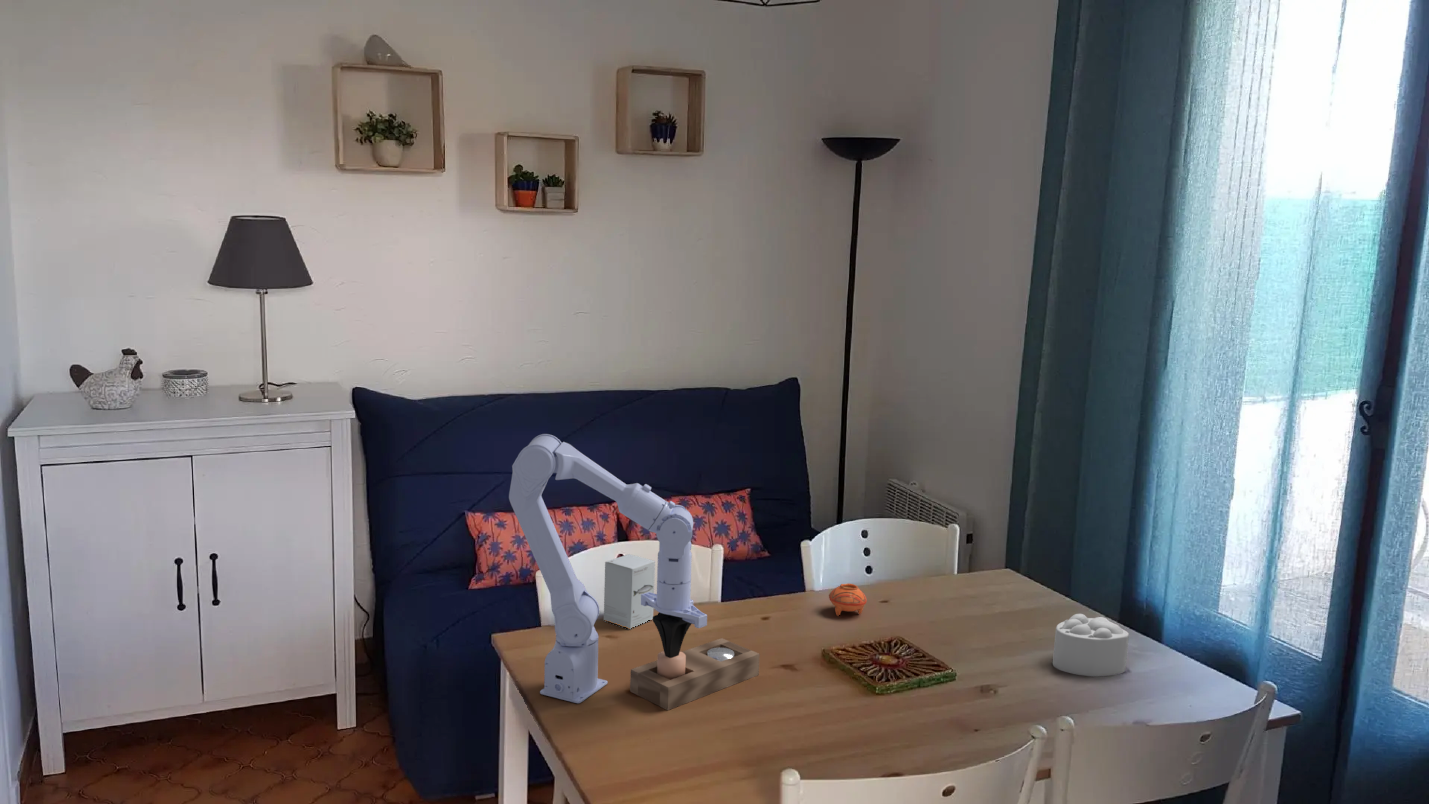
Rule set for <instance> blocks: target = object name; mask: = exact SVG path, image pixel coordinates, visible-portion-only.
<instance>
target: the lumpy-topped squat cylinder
mask: <svg viewBox="0 0 1429 804" xmlns="http://www.w3.org/2000/svg"><path fill="white" fill-rule="evenodd" d="M1054 634H1055V635H1054V644H1053V654H1052V655H1053V657H1052V666H1053V667H1054V668H1055V669H1057V670H1059V671H1062V672H1065V673H1068V674H1069V673H1070V674H1073V675H1077V676H1078V675H1079V676H1086V677H1104V676H1114V675H1120V674H1123V673H1125V672H1126V668H1127V660H1128V650H1129V638H1130V633H1129V632H1128V631H1126V630H1125V629H1123V628H1121V626H1120V625H1118V624H1116V623H1113V622H1112V621H1110V620H1109V619H1108V618H1106V617H1104V616H1096V617H1087V616H1086V615H1085V614H1083V613H1075V614H1073V615H1072V616H1070V618H1068V619H1065V620H1064V621H1062V622H1059V623H1058V624H1057V625H1056V627H1055V633H1054Z"/></svg>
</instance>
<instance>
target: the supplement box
mask: <svg viewBox="0 0 1429 804" xmlns="http://www.w3.org/2000/svg"><path fill="white" fill-rule="evenodd" d="M655 566H656V561H655V560H652V559H649V558H646V557H642V556H638V555H634V554H630V553H629V554H628V553H627V554H625V555H622V556H620V557H616V558H613V559H610V560H607V561H605V562H604V587H603V588H604V590H603V591H604V592H603V593H604V594H603V595H604V596H603V600H604V601H603V621H604V620H607V621H611V622H613V623H617V624H620V625H622V626H626V627H628V628H630V630H632V629H633V628H632V627H634V628H636V627H638V625H639V626H641V625H643V624H646V623H648V622H649V621H648V620H652V619H653V616H654V610H655V609H654V608H653V607H650V606H648V605H647V606H643V605H641V594H644V593H647V592H651V593H654V594H655V579H656V578H655V576H656V575H655V574H656V573H655V570H656V567H655ZM647 621H648V622H647ZM652 621H653V620H652ZM645 622H646V623H645ZM642 623H643V624H642ZM640 624H641V625H640ZM635 626H636V627H635ZM631 628H632V629H631Z"/></svg>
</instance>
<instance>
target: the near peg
mask: <svg viewBox="0 0 1429 804" xmlns="http://www.w3.org/2000/svg"><path fill="white" fill-rule="evenodd" d="M656 661H657V674H658V675H660V676H663V677H665V678H667V679H669V680H672V679H675V678H677V677H680V676H683V675H685V664H686V655H685V654H684V653H683V651H681V650H680V652H679V655H678V656H675V657H673V658H669V657H666V656H665V653H664V650H662V651H660V652H658V653H657V660H656Z"/></svg>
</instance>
